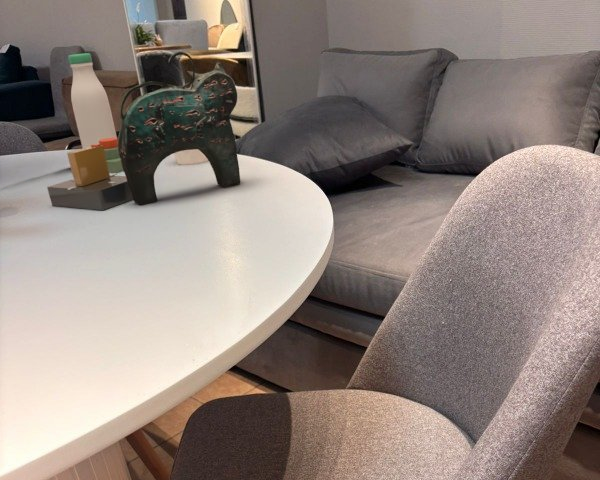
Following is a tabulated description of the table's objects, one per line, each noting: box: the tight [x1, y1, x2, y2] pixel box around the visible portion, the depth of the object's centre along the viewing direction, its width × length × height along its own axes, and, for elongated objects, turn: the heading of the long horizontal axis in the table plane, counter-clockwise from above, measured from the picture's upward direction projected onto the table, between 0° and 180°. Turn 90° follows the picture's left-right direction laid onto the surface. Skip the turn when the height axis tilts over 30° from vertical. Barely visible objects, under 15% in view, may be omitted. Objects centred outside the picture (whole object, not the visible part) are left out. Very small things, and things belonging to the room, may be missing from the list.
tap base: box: [46, 173, 134, 211], centre depth 104 cm, size 12×10×3 cm
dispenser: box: [104, 147, 124, 174], centre depth 127 cm, size 10×8×4 cm
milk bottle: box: [67, 52, 118, 149], centre depth 137 cm, size 8×8×20 cm
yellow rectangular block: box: [66, 144, 111, 186], centre depth 101 cm, size 6×2×5 cm, turn 148°
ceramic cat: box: [117, 51, 241, 206], centre depth 98 cm, size 20×6×20 cm, turn 119°
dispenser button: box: [99, 137, 118, 149], centre depth 126 cm, size 4×4×2 cm
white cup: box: [173, 149, 209, 166], centre depth 124 cm, size 8×8×10 cm
